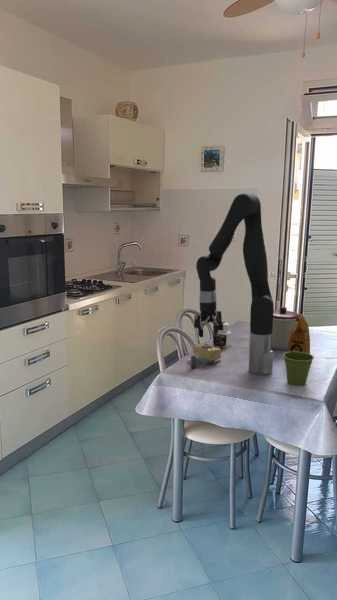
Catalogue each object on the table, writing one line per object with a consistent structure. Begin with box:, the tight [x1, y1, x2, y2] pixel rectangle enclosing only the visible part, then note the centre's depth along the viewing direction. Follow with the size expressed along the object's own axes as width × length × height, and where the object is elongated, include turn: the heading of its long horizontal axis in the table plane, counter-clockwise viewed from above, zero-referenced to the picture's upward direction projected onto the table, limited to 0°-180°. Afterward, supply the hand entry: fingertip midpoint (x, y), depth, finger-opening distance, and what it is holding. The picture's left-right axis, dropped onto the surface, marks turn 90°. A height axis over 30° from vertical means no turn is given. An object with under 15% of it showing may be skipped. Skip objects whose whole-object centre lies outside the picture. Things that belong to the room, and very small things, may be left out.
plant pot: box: [282, 351, 315, 386], centre depth 184 cm, size 12×12×11 cm
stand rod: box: [190, 354, 198, 370], centre depth 201 cm, size 2×2×5 cm
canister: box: [272, 306, 300, 351], centre depth 231 cm, size 18×18×21 cm
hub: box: [197, 342, 221, 366], centre depth 210 cm, size 9×9×8 cm
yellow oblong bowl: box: [192, 342, 222, 361], centre depth 210 cm, size 12×6×4 cm, turn 37°
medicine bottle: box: [212, 321, 232, 349], centre depth 235 cm, size 7×7×12 cm
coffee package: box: [287, 313, 311, 354], centre depth 206 cm, size 10×12×22 cm
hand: (208, 335), depth 209 cm, fingers open, 8 cm apart
